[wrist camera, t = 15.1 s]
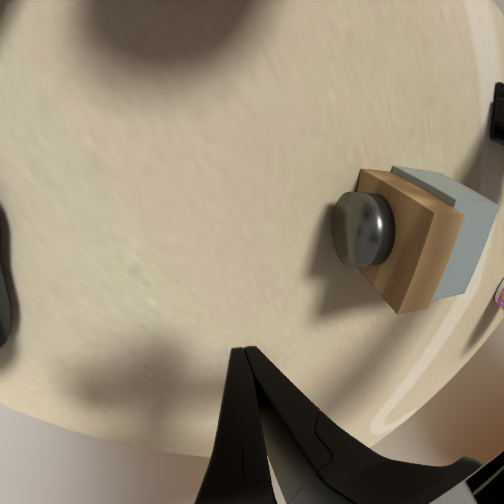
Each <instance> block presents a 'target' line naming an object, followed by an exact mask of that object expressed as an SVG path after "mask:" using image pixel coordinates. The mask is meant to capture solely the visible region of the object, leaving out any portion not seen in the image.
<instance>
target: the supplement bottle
mask: <svg viewBox="0 0 504 504" xmlns="http://www.w3.org/2000/svg"><path fill="white" fill-rule="evenodd" d="M495 301H496V303H497V304H498V305H499V306H500V307H501V308H502V309H503V310H504V279H503V281H502V282H501V284H500V285H499V287H498V289H497V292H496V295H495Z"/></svg>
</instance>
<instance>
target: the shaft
mask: <svg viewBox="0 0 504 504" xmlns="http://www.w3.org/2000/svg"><path fill="white" fill-rule="evenodd" d="M395 233H396V228H395V219H394V215H393V212H392V209H391V207H390V205H389V203H388V202H387V200H386V199H385V198H384V197H382V196H381V195H379V194H376V193H362V192H346V193H344V194H343V195H342V196H341V197H340V198H339V200H338V201H337V203H336V206H335V209H334V213H333V218H332V237H333V243H334V247H335V250H336V253H337V255H338V257H339V259H340V260H341V262H342V263H343V264H344V265H346V266H348V267H362V266H373V265H380V264H382V263H383V262H385V261H386V260H387V258H388V257H389V255H390V254H391V252H392V249H393V246H394V242H395Z"/></svg>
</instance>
